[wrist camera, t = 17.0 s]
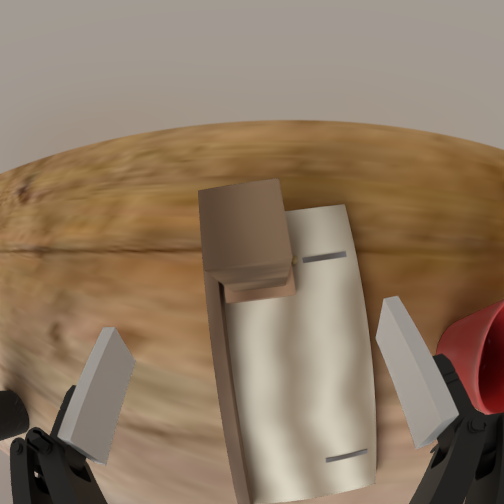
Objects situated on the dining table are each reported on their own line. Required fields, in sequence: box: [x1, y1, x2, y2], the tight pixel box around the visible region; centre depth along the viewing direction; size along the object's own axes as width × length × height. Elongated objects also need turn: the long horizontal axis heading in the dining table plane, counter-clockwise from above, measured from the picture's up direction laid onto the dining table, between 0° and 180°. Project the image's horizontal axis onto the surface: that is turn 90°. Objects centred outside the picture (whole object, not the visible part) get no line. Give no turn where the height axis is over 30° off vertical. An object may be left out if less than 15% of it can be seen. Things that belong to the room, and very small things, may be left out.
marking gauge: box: [198, 178, 298, 304], centre depth 20 cm, size 7×6×12 cm
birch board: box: [200, 204, 376, 504], centre depth 23 cm, size 14×30×4 cm, turn 7°
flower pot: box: [436, 299, 504, 415], centre depth 19 cm, size 11×11×10 cm
